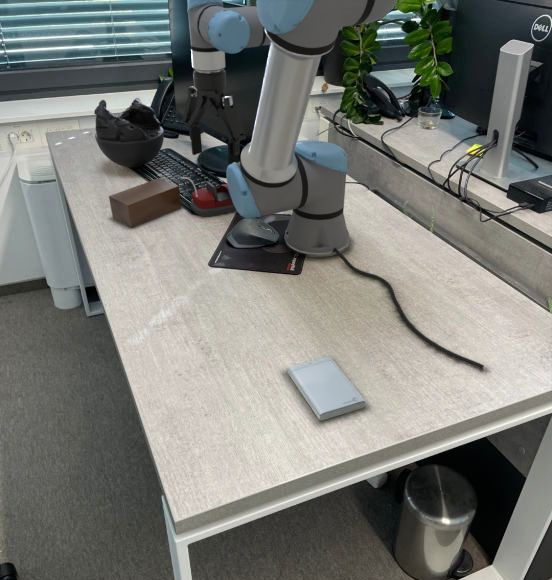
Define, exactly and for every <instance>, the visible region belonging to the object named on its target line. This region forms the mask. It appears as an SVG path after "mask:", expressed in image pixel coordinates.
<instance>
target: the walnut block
mask: <svg viewBox="0 0 552 580" xmlns="http://www.w3.org/2000/svg"><path fill="white" fill-rule="evenodd" d="M108 201H109V205H110V211H111V215H112V219H113V220H115V221H117V222H119V223H121V224H123V225H125V226H126V227H129V228H134V227H137V226H140V225H142V224H144V223H146V222H149V221H152V220H154V219H156V218H159V217H161V216H164V215H167V214H169V213H171V212H173V211H176V210H179V209H181V208H182V202H181V194H180V185H178V184H176V183H173V182H171V181H168V180H165V179H163V178H160V177H158V178H155V179H153V180H150V181H147V182H144V183H141V184H137V185H136V186H132V187H131V188H130V187H129V188H127V189H124V190H122V191H119V192H116V193H113V194H111V195H109V196H108Z"/></svg>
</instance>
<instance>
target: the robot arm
mask: <svg viewBox="0 0 552 580" xmlns="http://www.w3.org/2000/svg"><path fill="white" fill-rule="evenodd" d="M397 2H398V0H256V1H255V5H254V6H238V7H224V2H223V0H187V8H186V9H187V10H186V13H187V16H188V27H189V29H188V30H189V38H190V47H191V48H190V51H191V54H190V55H191V67H192V68H193V72H192V76H193V77H192V78H193V86H189V87H187V99H186V103H185V108H184V112H183V115H182V119H181V121H182V124H183V125H184V124H186V126H187V128H188V132H189V139H190V143H191V145H190V146H191V155H193V156H196V155H199V154H202V153H203V145H202V133H201V132H202V131H201V126H200V121H201V120H202V118H203V116H204V115H205V113H206V112H209V113H211V114H214V116H215V117H217V118H218V121H219V122H220V124H221V127H222V128H223V130H224V132H225V134H226V136H227V138H228V139H229V140H228V141H227V155H228V156H227V157H228V165H227V167H226V170H225V171H226V173H225V174H226V177H225V178H226V184H228V189H229V193H230V196H231V199H232V201H233V204H234V206H235V208H236V210H237V211H236V212H237V213H238V214H239V215H240V216H241V217H242V218H245V219H247V220H248V219H255V218H262V217H266V216H271V215H274V214H279V213H283V212H288V211H292V212H291V215H290V218H289V221H288V223H287V226H286V229H285V232H284V245H285V248H287V249H288V250H289V251H290V252H292V253H293V254H295V255H298V256H301V257H305V258H311V259H312V258H313V259H323V258H324V259H326V258H331V257H335V256H338V257H340V259H341V260H342V261H343V262H344V264H345V265H346V266H347V267H348V268H349V269H350V270H352V271H353V272H355V273H357V274H359V275H361V276H365V277H368V278H371V279H374V280H377V281H379V282H380V283H382V284H383V285H385V286H386V288H387V289H388V291H389V294H390V297H391V300H392V302H393V304H394V306H395V308H396V309H397V312H398V314H399V315H400V317H401V320H403V322H404V324H406V326H407V327H408V328H409V329H410V330H411V331H412V332H413V334H415V335H416V336H417V337H419V338H420V339H421V340H423V341H424V342H425V343H427V344H428V345H430V346H431V347H433V348H434V349H436V350H438V351H440V352H441V353H444V354H446V355H448V356H449V357H452V358H454V359H456V360H459V361H462V362H464V363H466V364H468V365H471V366H473V367H475V368H478V369H480V370H483V369H484V367H485V365H484V364H482V363H480V362H477V361H476V360H475V361H474V360H472V359H471V358H468V357H465V356H462V355H460V354H458V353H456V352H453V351H451V350H449V349H447V348H445V347H444V346H442V345H439V344H438V343H436V342H435V341H434V340H431V339H430V338H428V337H427V336H426V335H424V334H423V333H422V332H421V331H420V330H418V329H417V328H416V326H414V324H412V322H410V320H409V319H408V317H407V316H406V314H405V312H404V310H403V309H402V307H401V305H400V303H399V301H398V300H397V298H396V294H395V291H394V289H393V287H392V285H391V284H390V282H388V281H387V280H386V279H384V278H383V277H381V276H379V275H376V274H373V273H370V272H366V271H364V270H360V269H358V268H357V267H355V266H353V264H351V262H350V261H349V260H348V259H347V258H346V257H345V255H344V254H343V253H344V252H346V250H348V248H349V245H350V233H349V230H348V227H347V222H346V218H345V215H344V208H345V198H346V197H345V196H346V184H347V173H348V156H347V153H346V150H345V149H344V148H342V147H341V146H339V145H337V144H334V143H332V142H329V141H328V142H327V141H323V140H317V139H316V140H315V139H303V140H298V139H299V136H300V132H301V129H302V126H303V122H304V118H305V115H306V112H307V108H308V105H309V101H310V98H311V95H312V91H313V87H314V83H315V80H316V77H317V73H318V70H319V65H320V63H321V59H322V56H324V55H327V54H328V53H330V52H331V51H332V50H333V49H334V47H335V44H336V41H337V38H338V35H339V31H340V29H341V28H342V27H343V28H345V27H353V26H361V25H367V24H371V23H374V22H376V21H379V20H381V19H383V18H384V17H386V16H387V15H388V14H389V13H390V12H391V11H392V10H393V9H394V8H395V6H396V4H397ZM265 46H269V50H268V55H267V56H268V57H267V60H266V64H265V70H264V75H263V80H262V86H261V90H260V95H259V101H258V106H257V110H256V116H255V120H254V126H253V131H252V137H251V141H250V142H249V143H247V144H246V145H245V146H244V147H243V148H242V150H241V145H240V142H241V141H244V140H246V138H247V136H246V132H245V129H244V126H243V123H242V120H241V118H240V115H239V111H238V109H237V105H236V97H235V96H234V95H233V94H232V95H228V96H226V95H225V89H226V87H227V71H226V70H225V68H226V54H232V55H233V54H237V53H240V52H241V51H243V50H244V49H247V48H249V49H250V48H257V47H265ZM240 150H241V151H240ZM240 152H241V153H240ZM239 155H240V159H239Z"/></svg>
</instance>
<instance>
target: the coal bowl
mask: <svg viewBox="0 0 552 580" xmlns="http://www.w3.org/2000/svg"><path fill="white" fill-rule="evenodd" d="M94 115H95V133H94V138H95V141H96V143H97V146H98V148H99V149H100V151H101V152H102V154H103V155H104V156H105V157H106V158H107V159H109V160H110V161H111V162H113V163H115V164H116V165H119V166H122V167H126V168H140V167H142V165H143V166H145V165H148V164H149V163H151V162H152V161H153V160H154V159H155V158H156V157H157V156H158V154H159V153H160V152H161V149H162V147H163V145H164V144H163V143H164V141H165V140H164V139H165V130H164V128H163V127H162V126H161V122H160V121H159V119H158V118H157V117H156V114H155V110H154V108H152V107H150V106H148V105H146V104H144V103H143V102H142V101H141V98H140V97H135V98H133V100H132V102H131V104H130V105H129V106H128V107H127V108H125V110H123V111H122V112H121V113H119V114H118V115H117V116H116V115H114V114H113V113H112V112H111V111H110V110H108V107H107V102H106V100H105V99H101V100H100V101H99V102H98V106H96V108H95V109H94Z"/></svg>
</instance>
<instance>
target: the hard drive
mask: <svg viewBox="0 0 552 580" xmlns="http://www.w3.org/2000/svg"><path fill="white" fill-rule="evenodd" d="M287 374H288V376H289V377H290V378H291V380H292V382H293V383H294V385H295V386H296V388H297V389H298V391H299V392H300V394H301V395H302V396H303V398H304V400H305V401H306V402H307V404H308V405H309V407H310V408H311V410H312V411H313V413H314V415H316V417H317V419H318V420H319V421H324V420H328V419H331V418H334V417H338V416H341V415H345V414H348V413H350V412H351V413H352V412H354V411H357V410H361V409H363V408H365V407H366V400H365V398H364V397H363V396H362V395H361V393H360V392H359V391H358V390H357V389H356V387H355V386H354V385H353V383H352V382H351V381H350V380H349V378H348V377H347V376H346V374H345V373H344V372H343V371H342V370H341V368H340V367H339V365H338V364H337V363H336V362H335V361H334V359H333V358H332V357H331V356H325V357H320V358H317V359H313V360H309V361H306V362H302V363H299V364H296V365H293V366H292V365H291V366H289V367H288V368H287Z"/></svg>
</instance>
